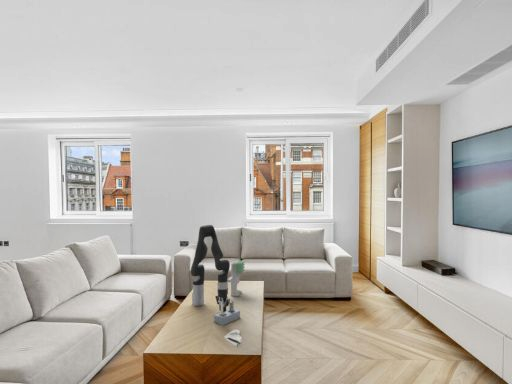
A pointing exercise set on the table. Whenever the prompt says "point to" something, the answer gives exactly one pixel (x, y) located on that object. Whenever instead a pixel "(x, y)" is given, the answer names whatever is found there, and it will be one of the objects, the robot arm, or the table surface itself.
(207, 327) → the table surface
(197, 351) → the table surface
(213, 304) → the table surface
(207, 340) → the table surface
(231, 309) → the grey peg
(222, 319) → the hole block
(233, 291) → the toy
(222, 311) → the cream peg
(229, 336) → the cloth
